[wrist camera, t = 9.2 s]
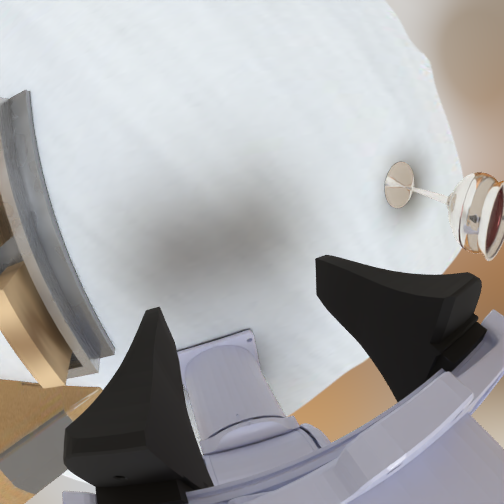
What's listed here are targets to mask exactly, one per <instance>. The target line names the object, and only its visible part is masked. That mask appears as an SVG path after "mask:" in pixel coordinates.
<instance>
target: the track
mask: <svg viewBox="0 0 504 504" xmlns="http://www.w3.org/2000/svg"><path fill="white" fill-rule="evenodd" d="M22 261H24V263H25V265H26V267H27V270H28V272H29V274H30V276H31V278H32V281H33V283H34V285H35V287H36V289H37V291H38V293H39V295H40V297H41V299H42V301H43V303H44V305H45V306H46V308H47V310H48V312H49V314H50V315H51V317H52V319H53V321H54V322H55V324H56V326H57V328H58V329H59V331H60V332H61V334H62V336H63V337H64V339H65V341H66V342H67V344H68V345H69V347H70V348H71V350H72V355H71V360H70V364H69V369H68V374H67V379H68V378H73V377H79V376H84V375H89V374H94V373H99V363H100V358H103V357H107V356H111V355H114V354H115V348H114V346H113V345H112V343H111V341H110V340H109V338H108V336H107V334H106V333H105V331H104V329H103V327H102V325H101V323H100V322H99V320H98V318H97V316H96V314H95V312H94V310H93V308H92V306H91V304H90V302H89V300H88V298H87V296H86V294H85V292H84V290H83V287H82V285H81V283H80V281H79V279H78V276H77V274H76V272H75V269H74V267H73V265H72V262H71V260H70V257H69V255H68V252H67V250H66V247H65V244H64V242H63V239H62V236H61V233H60V231H59V228H58V225H57V222H56V219H55V216H54V212H53V209H52V206H51V203H50V199H49V196H48V192H47V188H46V185H45V181H44V177H43V172H42V168H41V164H40V159H39V154H38V149H37V144H36V138H35V132H34V125H33V118H32V110H31V100H30V91H27V90H24V91H22V92H21V93H19V94H17V95H15V96H13V97H12V98H10V99H6V98H2V97H0V275H1V273H2V272H3V271H4V270H5V269H6V268H7V267H9V266H12V265H14V264H17V263H19V262H22Z"/></svg>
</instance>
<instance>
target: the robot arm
mask: <svg viewBox="0 0 504 504" xmlns="http://www.w3.org/2000/svg"><path fill="white" fill-rule="evenodd" d="M315 260H316V293H317V296H318V298H319V299H320V300H321V302H322V303H323V305H324V306H325V307H326V309H327V310H328V311H329V312H330V313H331V314H332V315H333V316H334V317H335V318H336V319H337V321H338V322H339V323H340V324H341V325H342V326H343V327H344V328H345V329H346V330H347V331H348V332H349V333H350V334H351V335H352V336H353V337H354V338H355V339H356V340H357V341H358V342H359V344H360V345H361V346H362V347H363V349H364V350H365V351H366V353H367V354H368V355H369V357H370V358H371V359H372V361H373V362H374V364H375V365H376V367H377V368H378V370H379V371H380V373H381V374H382V375H383V377H384V379H385V381H386V382H387V384H388V385H389V387H390V389H391V391H392V392H393V395H394V396H395V398H396V400H397V402H398V403H397V404H395V405H394V406H392V407H391V408H389V409H388V410H386V411H385V412H383V413H382V414H380V415H379V416H377V417H376V418H374V419H372V420H371V421H369V422H368V423H366V424H364V425H363V426H361V427H359V428H357V429H356V430H354V431H352V432H350V433H349V434H347V435H345V436H343V437H341V438H340V439H338V440H336V441H334V442H332V443H331V442H330V441H329V439H328V438H327V437H326V435H325V434H324V433H323V432H322V431H321V430H319V429H318V428H315V427H313V426H312V425H310V424H306V423H305V424H302V425H299V424H298V422H297V421H296V419H295V417H294V416H290V417H286V416H285V414H284V412H283V410H282V409H281V407H280V405H279V403H278V401H277V400H276V398H275V396H274V394H273V392H272V390H271V389H270V387H269V385H268V383H267V381H266V379H265V377H264V376H263V374H262V372H261V368H260V363H259V358H258V353H257V348H256V344H255V339H254V334H253V332H252V331H251V330H246V331H243V332H240V333H237V334H234V335H231V336H228V337H225V338H222V339H219V340H215V341H212V342H209V343H206V344H202V345H199V346H196V347H192V348H189V349H185V350H182V351H178V352H177V350H176V346H175V342H174V340H173V337H172V335H171V333H170V331H169V328H168V326H167V323H166V321H165V319H164V316H163V314H162V311H161V309H160V307H157V308H153V309H150V310H146V312H145V314H144V316H143V319H142V321H141V323H140V326H139V328H138V331H137V333H136V335H135V337H134V340H133V342H132V344H131V346H130V348H129V350H128V352H127V354H126V356H125V358H124V360H123V362H122V364H121V365H120V367H119V369H118V370H117V372H116V373H115V375H114V376H113V378H112V379H111V380H110V382H109V383H108V384H107V386H106V387H105V388H104V390H103V391H102V392H101V394H100V395H99V396H98V397H97V398H96V399H95V401H94V402H93V403H92V404H91V405H90V406H89V407H88V408H87V409H86V410H85V411H84V412H83V413H82V414H81V415H80V416H79V417H78V418H77V419H75V420H74V421H73V422H72V423H71V424H70V425H69V426H67V427H66V428H65V435H64V451H63V462H64V465H65V466H66V467H67V468H68V470H70V471H71V472H72V473H73V474H75V475H76V476H78V477H80V478H81V479H83V480H85V481H86V482H88V483H90V484H92V485H93V486H95V487H96V494H93V493H88V492H72V491H63V492H62V496H63V504H504V449H503V448H502V447H501V446H500V445H499V444H498V443H497V442H496V441H495V440H494V439H493V437H491V435H489V433H488V432H486V430H484V429H483V428H482V426H481V425H479V424H478V422H476V420H475V419H474V418H472V416H471V415H472V414H473V412H474V411H475V410H476V409H477V408H478V407H479V405H480V404H481V403H482V402H483V401H484V399H485V398H486V397H487V396H488V394H489V393H490V392H491V391H492V389H493V388H494V387H495V385H496V384H497V383H498V381H499V380H500V378H501V377H502V376H503V374H504V316H503V315H501V314H499V313H498V312H497V311H495V310H492V311H491V312H490V313H489V314H488V315H487V317H486V318H485V319H484V320H483V321H482V323H481V325H480V324H479V323H478V322H476V321H477V320H478V316H476V315H475V314H474V311H475V308H476V305H477V302H478V299H479V296H480V293H481V287H482V284H481V280H480V278H478V277H476V276H475V275H473V274H471V273H468V272H466V273H457V274H447V275H423V274H410V273H402V272H395V271H390V270H385V269H381V268H376V267H372V266H368V265H364V264H361V263H357V262H354V261H350V260H347V259H343V258H339V257H335V256H330V255H325V256H322V257H319V258H316V259H315ZM249 338H250V339H249ZM247 339H249V340H247ZM182 383H183V384H182ZM183 385H184V387H185V388H186V390H187V392H188V394H189V398H190V402H191V406H192V410H193V414H194V417H195V421H196V425H197V428H198V432H199V435H200V439H201V441H200V446H201V449H202V452H203V455H204V456H202V454H201V452H200V450H199V447H198V444H197V441H196V438H195V435H194V432H193V429H192V426H191V423H190V419H189V416H188V413H187V408H186V403H185V397H184V391H183Z"/></svg>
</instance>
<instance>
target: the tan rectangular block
mask: <svg viewBox="0 0 504 504" xmlns="http://www.w3.org/2000/svg"><path fill="white" fill-rule="evenodd" d="M0 330H1V332H2V333H3V335H4V337H5V338H6V340H7V341H8V343H9V344H10V346H11V347H12V349H13V350H14V351H15V353H16V354H17V356H18V357H19V358H20V360H21V361H22V363H23V364H24V365H25V366H26V368H27V369H28V370H29V372H30V373H31V374H32V375H33V377H34V378H35V379H36V380H37V382H38V383H39V384H40V385H41V386H42V388H43V389H44V388H51V387H58V386H64V385H66V379H67V374H68V369H69V364H70V360H71V355H72V350H71V348H70V347H69V345H68V344H67V342H66V341H65V339H64V337H63V336H62V334H61V332H60V331H59V329H58V328H57V326H56V324H55V322H54V321H53V319H52V317H51V315H50V314H49V312H48V310H47V308H46V306H45V305H44V303H43V301H42V299H41V297H40V295H39V293H38V291H37V289H36V287H35V285H34V283H33V281H32V278H31V276H30V274H29V272H28V270H27V267H26V265H25V263H24V261H22V262H19V263H17V264H14V265H12V266H9V267H7V268H6V269H5V270H4V271H3V272H2V273H1V275H0Z"/></svg>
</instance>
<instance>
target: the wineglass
mask: <svg viewBox="0 0 504 504" xmlns="http://www.w3.org/2000/svg"><path fill="white" fill-rule="evenodd" d="M413 192H416V193H419V194H421V195H424V196H426V197H429V198H431V199H434V200H436V201H439V202H441V203H443V204H446V205H447V208H448V218H449V223H450V226H451V229H452V232H453V235H454V237H455V240H456V241H457V242H458V243H459V244H460V245H461V246H462V247H463V248H464V249H466V250H468V251H469V252H471V253H474V254H477V253H482V254H483V255H484V257H485V259H486V260H487V261H490V260H492V259H493V258H494V257H495V256H496V255H497V253H498V251H499V249H500V248H501V246H502V243H503V241H504V181H500V182H498V181H497V180H496V179H495V178H494V177H493V176H491V175H489V174H487V173H481V172H477V173H472V174H469V175H468V176H466V177H465V178H464V179H463V180H461V181H460V182H459V183H458V184H457V185H456V187H455V188H454V190H453V192H452V194H450V195H449V196H445V195H442V194H438V193H435V192H431V191H427V190H423V189H419V188H415V187H414V175H413V171H412V169H411V168H410V166H409V165H408V164H407V163H405V162H398V163H396V164H395V165H393V166H392V167H391V169H390V171H389V172H388V175H387V178H386V182H385V195H386V198H387V201H388V203H389V204H390V206H392V207H394V208H401V207H403V206H404V205H405V204H406V203H408V201H409V199H410V198H411V196H412V193H413Z"/></svg>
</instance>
